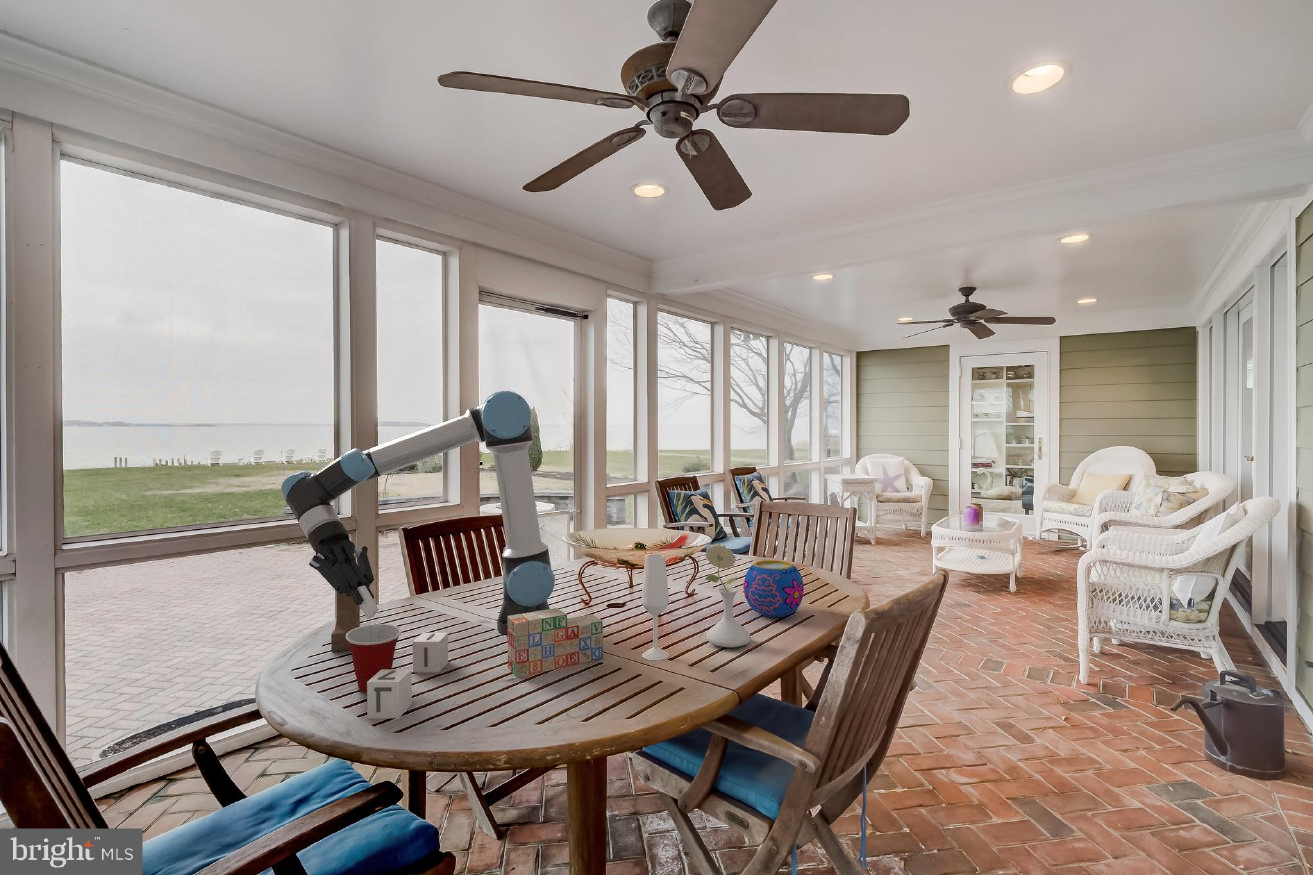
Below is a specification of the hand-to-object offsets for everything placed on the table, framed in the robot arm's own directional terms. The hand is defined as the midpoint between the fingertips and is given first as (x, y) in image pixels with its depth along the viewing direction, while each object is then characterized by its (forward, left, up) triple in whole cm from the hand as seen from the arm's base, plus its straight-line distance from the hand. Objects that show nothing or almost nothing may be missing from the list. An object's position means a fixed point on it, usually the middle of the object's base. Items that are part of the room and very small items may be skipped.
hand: (372, 614), depth 129 cm
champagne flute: (-60, -17, -16) cm, 65 cm away
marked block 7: (-8, +11, -16) cm, 21 cm away
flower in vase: (-78, -25, -16) cm, 84 cm away
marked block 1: (-8, -11, -16) cm, 21 cm away
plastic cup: (0, 0, -16) cm, 16 cm away
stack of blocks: (-37, -12, -16) cm, 42 cm away
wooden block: (+19, -26, -16) cm, 36 cm away
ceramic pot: (-95, -48, -16) cm, 108 cm away
